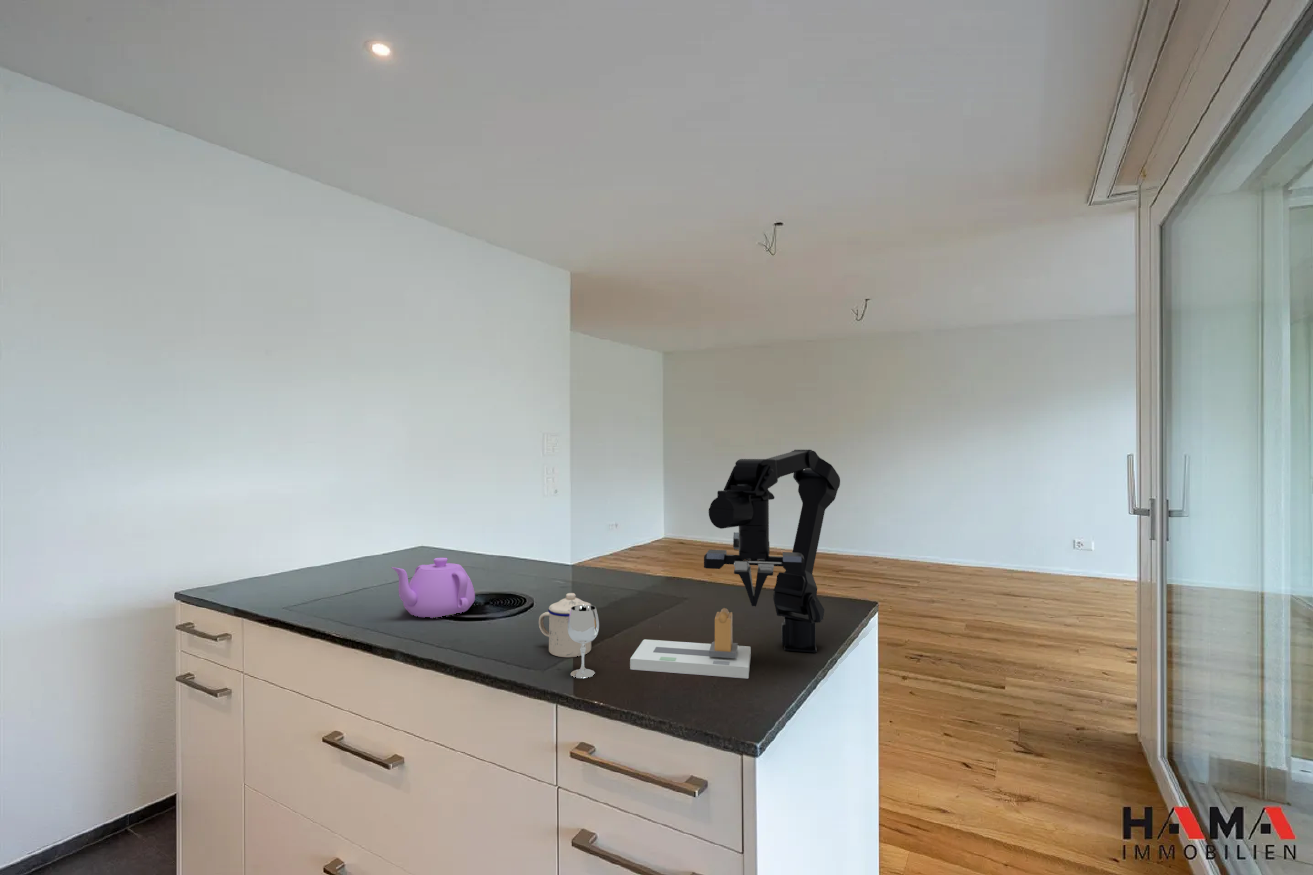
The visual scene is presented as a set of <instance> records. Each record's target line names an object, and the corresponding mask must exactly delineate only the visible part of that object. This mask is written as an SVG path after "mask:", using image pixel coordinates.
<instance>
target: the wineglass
mask: <svg viewBox="0 0 1313 875" xmlns="http://www.w3.org/2000/svg"><path fill="white" fill-rule="evenodd" d="M599 629H600V621H599V615H598V611H597V607H596V606H595V605H592V604H591V605H577V606H573V607H571V610H570V614H569V618H568V634H569V637H570V638H571V639H572V640H573V641H575V642H577V643H581V644H582V645H581V647H580V651H581V656H580V657H581V665H580V668H579V669H574V670H573V671H571V672H570V677H572V676H573V678H575V677H576V678H575V679H588V677H589V678H591V677H594V676H595V675H596V672H595V671H594V669H593V670H592V669H589V668H586V667H585V666H586V665H585V655H586V654H585V651H586V646H585V643H588V642H590V641H591V642H593V641H594V640H595V639H596V638H597V636H598V634H599ZM594 674H595V675H594ZM593 675H594V676H593Z"/></svg>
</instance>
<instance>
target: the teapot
mask: <svg viewBox="0 0 1313 875" xmlns="http://www.w3.org/2000/svg"><path fill="white" fill-rule="evenodd" d="M432 561H433V563H430V564H420V565H418V566H417V567H416V568H415V570H414V575H413V576H412V577H411V579H410V581H409V578H408V577H409V576H408V573H407V571H406V570H405V569H404V568H399V567H393V566H391V567H390V568H392V569H393V570H394V571H395V572H396V573H397V576H398V595H399V599H400V600H401V601H402V604H403V607H404V609H405V610H406V611H407V612H408V613H409V615H411V616H413V615H414V617H417V616H418V618H425V617H430V619H433V617H434V618H435V617H441V618H443V617H442V616H445V615H449V614H456V613H460V614H462V612H463V613H465V612H467V611H468V610H469V609H470V608H471V606H472V605H473V604H474V602H475V601H476V592H475V588H474V585H473V582H472V580H471V578H470V576H469V575H468V573H467V571H466V570H465V568H463V566H462V565H461V564H459V563H451V562H448V558H447V557H435V558H433V560H432Z"/></svg>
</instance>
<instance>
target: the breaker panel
mask: <svg viewBox="0 0 1313 875" xmlns="http://www.w3.org/2000/svg"><path fill="white" fill-rule="evenodd" d="M711 644H712V643H705V642H703V643H702V642H690V641H689V642H688V641H687V642H686V641H672V640H659V639H643V640H642V641H641V642H640V644H639V646H637V648H636V650H635V651H634V653H633V654H632V656H631V657H630V659H629V660H630V661H629V667H630V668H629V670H634V671H647V672H659V673H660V672H661V673H671V674H673V673H674V674H686V675H696V676H697V675H698V676H699V675H700V676H710V677H711V676H713V677H722V678H723V677H724V678H736V679H749V678H750V665H751V657H752V654H751V649H752V648H751V646H745V645H738V649H737V655H736V658H723V657H709V650H710V647H711Z"/></svg>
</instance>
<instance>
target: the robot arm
mask: <svg viewBox="0 0 1313 875" xmlns="http://www.w3.org/2000/svg"><path fill="white" fill-rule="evenodd" d="M790 474H792V475H793V479H794V481H795V482H796V483H797V485H798V487H797V488H798V489H797V493H798V494H799V497H800V500H801V503H802V506H801V509H800V510H801V511H800V513H799V519H798V524H797V527H796V528H797V529H796V534H795V537H794V542H793V547H792V552H789V551H786V552H785V551H782V556H779V555H777V556H775V555H770V541H769V540H770V529H769V528H770V526H769V524H770V514H769V513H770V512H769V511H770V508H769V507H770V502H769V501H771V500H774V499H775V495H774V494H773V493H772V492H771V491H770V490H769V489H770V488H771V487H773V486H774V485H776V484H777V483H778V480H779V479H780V478H782V477H784V476H789V475H790ZM840 485H841V478H840V475H839V474H838V472H837V471H836V469H835V467H834V466H833V465H832V464H831V463H830V462H828V461H826V460H825V459H823V458H821V457H820V456H819V455H818V454H817V452H816V451H815V450H812V449H794V450H791V451H790V452H786V453H782V454H780V455H779V454H778V455H776V456H771V457H768V458H739V459H738V460H736V461H735V463H734V466H733V467H732V470H731V472H730V475H729V477H728V479H727V481H726V484H725V486H724V488H723V490H718V491H717V497H716V498H714V499H713V500H712V501H711V503H710V506H709V508H708V517H709V521H710V522H711V524H712V525H713V527H716V528H718V529H721V530H723V529H730V528H735V527H736V528H737V527H738V532H733V538H732V539H733V540H732V542H733V543H732V544H733V545H732V546H733V549H734V550H738V554H728V553H727V550H726V549H708V550H707V552H706V553H705V554H704V555H703V568H704V569H707V570H708V569H713V570H720V569H721V568H723V567H724V566H725V565H733V567H734V570H733V575H739V578H740V579H741V582H742V583H743V585H744V588H745V590H746V593H747V596H748V600H749V602H750V604H751V607H756V606H757V604H758V601H759V598H760V596H761V592H762V589H763V586H764V584H765V582H766V580H767V578H768V577H769V576H771V577H772V576H774V569H775V567H782V568H783V569H784V571H783V572H781V571H780V572H778V574H777V576H776V581H775V582H776V583H775V586H774V588H773V589H772V590H773V594H772V596H773V597H772V598H773V599H772V600H773V603H774V607H775V608H774V609H775V612H776V616H778V617H784V621H783V622H781V645H782V646H784V647H783V648H784V649H783V650H784V651H789V652H790V651H791V652H802V653H817V652H818V650H817V645H816V641H817V640H816V635H817V634H816V631H817V630H816V627H817V624H816V623H819V624H820V623H822V621H823V620H824V617H825V607H823V605H822V603H821V601H820V600H819V598H818V597H817V596H818V595H817V594H818V586H817V583H816V580H815V578H814V575H813V571H814V567H815V562H816V557H817V553H818V552H817V551H818V547H819V543H820V542H819V541H820V537H821V532H822V527H823V523H824V518H825V514H826V513H825V512H826V509H827V508H828V507H829V506H830V505H831V504H833V503H834V501H835V499H836V498H837V497H836V496H837V493H838V491H839V488H840ZM752 566H757V573H756V581H755V588H754V585H753V584H754V583H753V578H752V568H751V567H752Z"/></svg>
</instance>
